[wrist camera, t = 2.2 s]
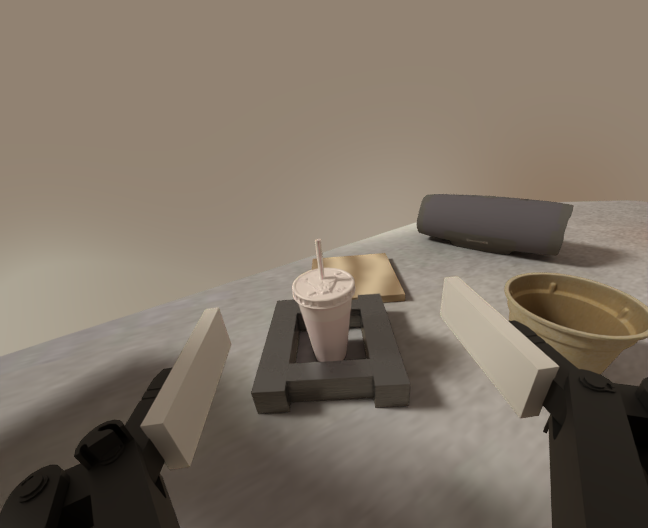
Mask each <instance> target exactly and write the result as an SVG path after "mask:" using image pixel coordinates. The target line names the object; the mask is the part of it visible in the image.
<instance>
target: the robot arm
mask: <svg viewBox="0 0 648 528" xmlns="http://www.w3.org/2000/svg"><path fill="white" fill-rule="evenodd" d="M440 316H441V318H442V319H443V320H444V322H445V323H446V324H447V325H448V327H449V328H450V329H451V331H452V332H453V333H454V334H455V336H456V337H457V338H458V340H459V341H460V342H461V343H462V345H463V346H464V347H465V348H466V350H467V351H468V352H469V354H470V355H471V356H472V357H473V359H474V360H475V361H476V363H477V364H478V365H479V366H480V368H481V369H482V370H483V372H484V373H485V374H486V375H487V377H488V378H489V379H490V381H491V382H492V383H493V384H494V386H495V387H496V388H497V389H498V391H499V392H500V393H501V395H502V396H503V397H504V398H505V400H506V401H507V402H508V404H509V405H510V406H511V407H512V409H513V410H514V411H515V413H516V414H517V415H518V416H519V418H526V417H533V416H539V414H540V411H541V409H542V407H543V406H544V407H545V408H546V409H547V411H548V412H549V413H550V416H549V419H548V421H547V423H546V425H545V427H544V430H543V432H545V433H547V432H548V429H549V450H550V479H551V508H552V528H648V378H645V379H643V381H642V382H641V384H640V385H639V386H631V385H623V384H615V383H612V382H611V381H610V380H609V379H607V378H605V377H603V376H602V375H600V374H597V373H595V372H592V371H589V370H584V369H578V368H577V367H576V366H574V365H573V364H572V363H571V362H570V361H568V360H567V359H566V358H565V357H564V356H562V355H561V354H560V353H559V352H558V351H556V350H555V349H554V348H553V347H552V346H550V345H549V344H548V343H546V342H545V341H544V340H543V339H542V338H541V337H540V336H538V335H537V334H536V333H535V332H534V331H532V330H531V329H530V328H529V327H528V326H526V325H524V324H522V323H520V322H518V321H516V320H512V321H507V320H506V319H505V318H504V317H503V316H502V315H501V314H500V313H498V312H497V311H496V310H495V309H494V308H493V307H492V306H491V305H489V304H488V303H487V302H486V301H485V300H484V299H483V298H481V297H480V296H479V295H478V294H477V293H476V292H475V291H474V290H472V289H471V288H470V287H469V286H468V285H467V284H466V283H465V282H463V281H462V280H461V279H460V278H459V277H458V276H455V277H447V278H444V287H443V295H442V303H441V311H440ZM230 347H231V341H230V338H229V335H228V333H227V330H226V327H225V324H224V321H223V318H222V315H221V313H220V310H219V308H212V309H205V311H204V313H203V314H202V316H201V318H200V320H199V322H198V323H197V325H196V327H195V329H194V331H193V332H192V334H191V336H190V338H189V340H188V341H187V343H186V345H185V347H184V349H183V350H182V352H181V354H180V356H179V357H178V359H177V361H176V363H175V365H174V366H173V368H167V369H163V370H162V371H161V372H160V373H159V374H158V375H157V376H156V377H155V378H154V379H153V381H152V382H151V384H150V385H149V387H148V389H147V392H145V394H144V395H143V397H142V400H141V401H140V402H139V403H138V405H137V407H136V408H135V410H134V412H133V413H132V415H131V416H130V418H129V420H128V421H127V423H126V425H125V426H124V424H123V423H122V422H121V421H120V420H111V421H107V422H105V423H103V424H101V425H99V426H97V427H96V428H94V429H93V430H92V431H90V432H89V433H88V434H87V435H86V436H85V437H84V438H83V439H82V440H81V441H80V443H79V445H78V446H77V448H76V450H75V455H74V457H75V458H76V459H77V460H78V461H79V462H80V463H81V464H79V465H76V466H74V467H72V468H69V469H67V470H65V471H63V470H62V469H61V468H60V467H59V466H58V465H49V466H46V467H43V468H41V469H39V470H37V471H36V472H34V473H32V474H31V475H29V476H28V477H27V478H26V479H25V480H23V481H22V482H21V483H20V484H19V485H18V486H17V487H16V488H15V489H14V490H13V492H12V493H11V494H10V496H9V497H8V499H7V501H6V502H5V504H4V506H3V509H2V511H1V513H0V528H180V526H179V523H178V520H177V517H176V514H175V512H174V509H173V506H172V503H171V500H170V497H169V495H168V492H167V489H166V486H165V483H164V480H163V478H162V476H161V475H160V471H161V469H162V467H163V464H164V462H165V463H166V465H167V466H168V468H169V469H170V470H173V469H180V468H187V467H190V466H191V463H192V460H193V457H194V454H195V451H196V448H197V445H198V442H199V439H200V436H201V433H202V430H203V427H204V424H205V421H206V418H207V415H208V412H209V409H210V406H211V403H212V400H213V397H214V395H215V392H216V389H217V386H218V383H219V380H220V377H221V374H222V371H223V368H224V365H225V362H226V359H227V356H228V353H229V350H230Z"/></svg>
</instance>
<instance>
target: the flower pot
mask: <svg viewBox="0 0 648 528" xmlns="http://www.w3.org/2000/svg"><path fill="white" fill-rule="evenodd" d="M504 291H505V295H506V297H507V299H508V308H509V310H510V313H509V321H512V320H516V321H518V322H520V323H522V324H524V325H526V326H528V327H529V328H530V329H531V330H532V331H534V332H535V333H536V334H537V335H538V336H540V337H541V338H542V339H543V340H544V341H545V342H546V343H548V344H549V345H550V346H552V347H553V348H554V349H555V350H556V351H558V352H559V353H560V354H561V355H562V356H564V357H565V358H566V359H567V360H568V361H570V362H571V363H572V364H573V365H574V366H576V367H577V368H578V369H584V370H589V371H592V372H595V373H597V374H601V373H602V372H603V371H604V370H605V369H606V368H607V367H608V366H609V365H610V364H611V363H612V362H613V361H614V360H615V358H616V357H617V356H618V355H619V354H620V353H621V352H622V351H623V350H624V349H626V348H629V347H631V346H633V345H634V344H635V343H636V342H637V341H638V340H642V339H645V338H648V307H647V306H646V305H644V304H643V303H642V302H640V301H639V300H637V299H635V298H634V297H632V296H630V295H628V294H626V293H624V292H622V291H620V290H617V289H615V288H613V287H610V286H608V285H605V284H602V283H599V282H596V281H593V280H589V279H585V278H581V277H576V276H571V275H565V274H558V273H526V274H521V275H517V276H515V277H513V278H511V279H510V280H508V281H507V283H506V284H505V289H504Z"/></svg>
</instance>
